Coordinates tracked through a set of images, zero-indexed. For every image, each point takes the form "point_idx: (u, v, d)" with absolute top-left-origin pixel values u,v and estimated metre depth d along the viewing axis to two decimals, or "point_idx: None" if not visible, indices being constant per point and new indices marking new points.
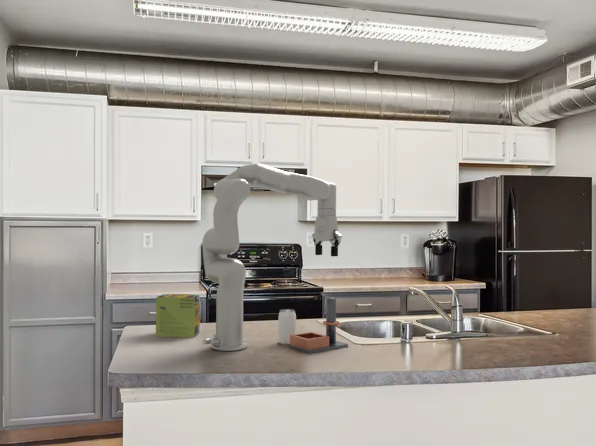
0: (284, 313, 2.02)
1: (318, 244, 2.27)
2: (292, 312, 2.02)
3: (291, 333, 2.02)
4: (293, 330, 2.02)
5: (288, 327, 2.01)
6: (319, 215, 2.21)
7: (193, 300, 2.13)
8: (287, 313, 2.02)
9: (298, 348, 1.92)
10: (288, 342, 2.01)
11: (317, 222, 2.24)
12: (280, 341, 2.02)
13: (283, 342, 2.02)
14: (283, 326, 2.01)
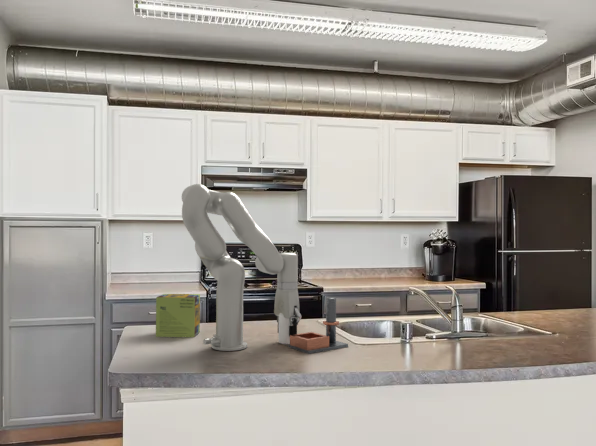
0: None
1: None
2: None
3: None
4: None
5: (288, 327, 2.01)
6: (279, 289, 2.02)
7: (193, 300, 2.13)
8: None
9: (298, 348, 1.92)
10: (288, 342, 2.01)
11: (277, 296, 2.05)
12: (280, 341, 2.02)
13: (283, 342, 2.02)
14: (283, 326, 2.01)
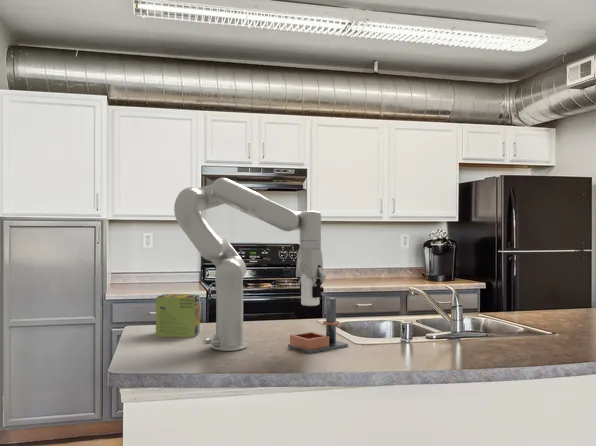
0: None
1: None
2: None
3: None
4: None
5: None
6: (301, 248, 1.93)
7: (193, 300, 2.13)
8: None
9: (298, 348, 1.92)
10: (312, 303, 1.92)
11: (299, 256, 1.96)
12: (303, 303, 1.93)
13: (306, 303, 1.93)
14: (307, 287, 1.92)
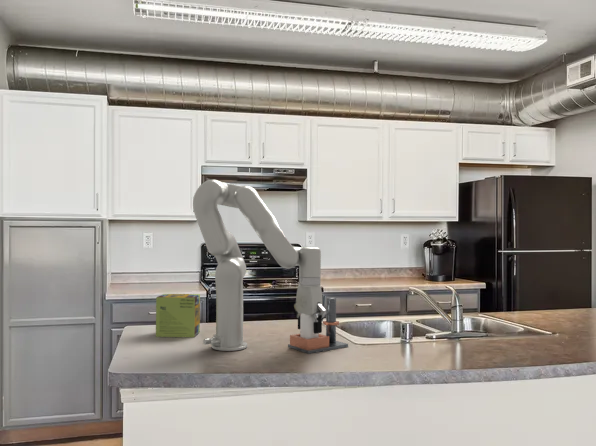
0: None
1: None
2: None
3: (314, 335, 1.93)
4: None
5: (311, 329, 1.92)
6: (301, 285, 1.93)
7: (193, 300, 2.13)
8: None
9: (298, 348, 1.92)
10: None
11: (299, 292, 1.96)
12: None
13: None
14: (306, 328, 1.93)
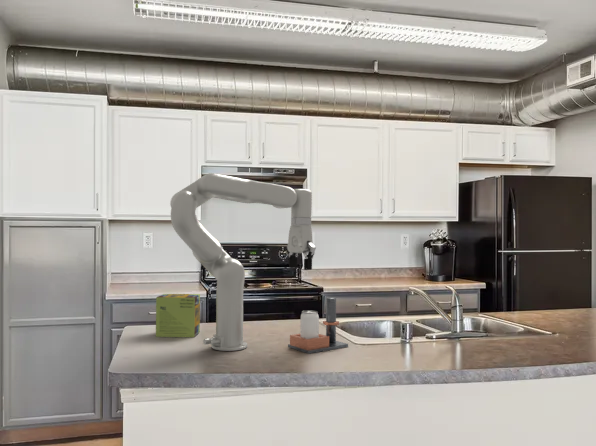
0: (307, 315, 1.93)
1: (292, 256, 2.08)
2: (315, 313, 1.93)
3: (314, 335, 1.93)
4: (316, 332, 1.93)
5: (311, 329, 1.92)
6: (292, 224, 2.03)
7: (193, 300, 2.13)
8: (310, 315, 1.93)
9: (298, 348, 1.92)
10: None
11: (291, 232, 2.05)
12: None
13: None
14: (306, 328, 1.92)
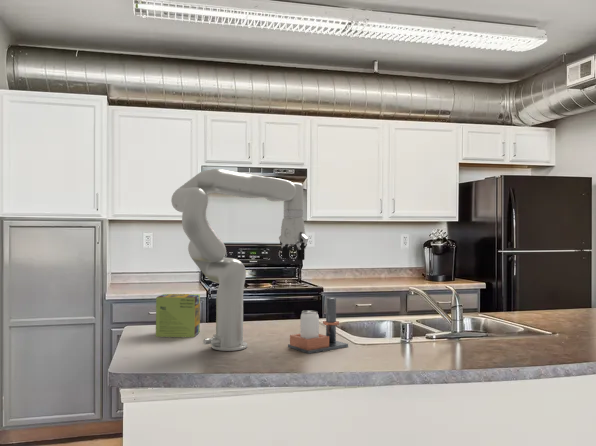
0: (307, 315, 1.93)
1: (285, 247, 2.17)
2: (315, 313, 1.94)
3: (314, 335, 1.93)
4: (316, 332, 1.93)
5: (311, 329, 1.92)
6: (285, 217, 2.11)
7: (193, 300, 2.13)
8: (310, 315, 1.93)
9: (298, 348, 1.92)
10: None
11: (283, 224, 2.14)
12: None
13: None
14: (306, 328, 1.92)
